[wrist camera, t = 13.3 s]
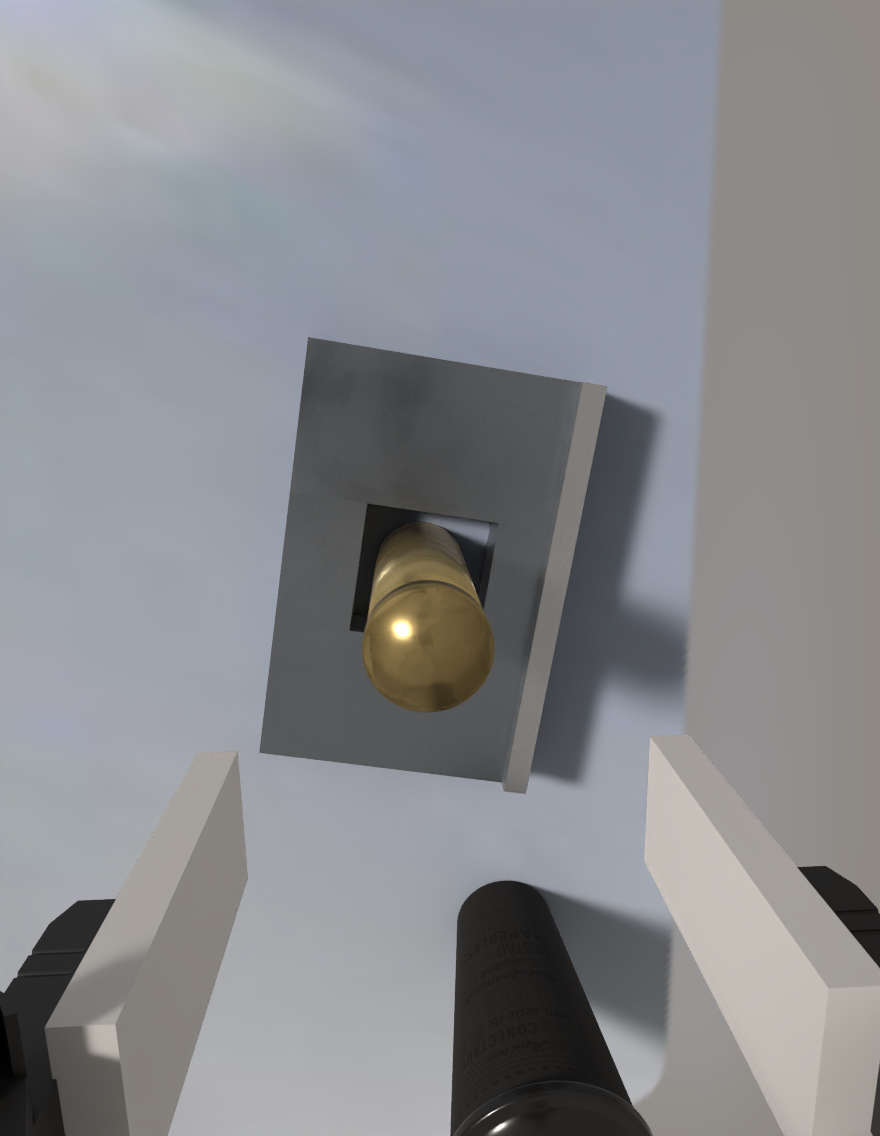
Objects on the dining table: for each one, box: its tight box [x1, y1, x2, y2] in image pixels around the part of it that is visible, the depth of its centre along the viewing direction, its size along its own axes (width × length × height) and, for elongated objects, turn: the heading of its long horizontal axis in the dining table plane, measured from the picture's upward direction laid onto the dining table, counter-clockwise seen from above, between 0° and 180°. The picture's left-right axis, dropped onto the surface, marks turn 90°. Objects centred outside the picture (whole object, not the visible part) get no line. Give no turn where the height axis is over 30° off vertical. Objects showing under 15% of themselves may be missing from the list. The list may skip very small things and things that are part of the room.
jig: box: [260, 337, 607, 794], centre depth 34 cm, size 18×12×3 cm, turn 171°
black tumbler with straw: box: [450, 881, 653, 1136], centre depth 31 cm, size 8×8×20 cm
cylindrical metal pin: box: [362, 522, 495, 712], centre depth 30 cm, size 4×4×12 cm
